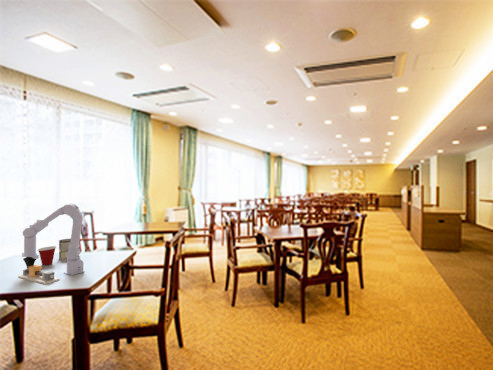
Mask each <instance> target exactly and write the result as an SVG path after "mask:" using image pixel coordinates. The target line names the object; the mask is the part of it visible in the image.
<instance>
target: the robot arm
mask: <svg viewBox="0 0 493 370" xmlns="http://www.w3.org/2000/svg"><path fill="white" fill-rule="evenodd" d="M63 215H66V216H69V217H70V218H71V219H72V226H71V227H72V228H71V235H70V239H71V242H70V246H69V249H68V252H67V253H66V257H67V260H66V271H63V274H66V275H69V276H75V275H78V274H82V273H85V270H84V261H83V260H82V259H81V256H80V255H81V253H82V252H81V251H82V250H81V248H80V247H81V246H80V245H81V244H80V240H81V233H82V225H83V218H84V216H83V214H82V212H81V211H80V208H79V206H78V205H76V204H75V203H69V204H65V205H63V206H61V207H59V208H57V209H56V210H55V211H54V212H52V213H50V215H48V216H47V217H45V218H40V219H37V220H36V222H34V223H33V224H30V225H29V227H27V228H25V229H24V230H23V231H22V236H23V237H24V238H23V239H24V240H23V244H24V245H23V249H24V250H23V252H22V253H21V257H23V258H22V260H23V261H24V263H25V265H26V269H29V266H33V265H35V262H36V260H38V259H39V258H40V254H39V255H38V254H37V235H38V233H40V232H42V231H43V230H44V229H45V228H47V227H48V226H49V223H50V222H52V221H53V220H55V219H57V218H58V217H60V216H63Z"/></svg>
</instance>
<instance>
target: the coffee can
mask: <svg viewBox="0 0 493 370" xmlns="http://www.w3.org/2000/svg"><path fill="white" fill-rule="evenodd" d="M70 242H71V238H65V239H64V238H63V239H62V238H61V239H59V240H58V246H59V247H58V249H59V250H58V254H59V255H58V257H59V258H58V260H59V261H60V260H61V261H67V257H66V253H67V252H68V249H69V246H70Z"/></svg>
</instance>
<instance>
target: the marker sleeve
mask: <svg viewBox="0 0 493 370" xmlns="http://www.w3.org/2000/svg"><path fill="white" fill-rule="evenodd" d="M28 270H29V276H33V277H35V276H39V275H35V272H36V271H40V272H42V264H41V265H39V264H34V265H33V266H29V269H28Z"/></svg>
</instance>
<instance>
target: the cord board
mask: <svg viewBox="0 0 493 370" xmlns="http://www.w3.org/2000/svg"><path fill="white" fill-rule="evenodd" d="M35 275H39V276H35V277H33V276H29V270H28V269H27V268H26V269H23V270H22V274H19V275H17V276H18V277H17V278H19V279H23V280H27V281H30V282H34V283H37V284H41V285H47V284H52V283H55V282H58V281H60V280H61V279H60V277H55V272H54V271H46V272H43V271H41V272H40V271H36V272H35Z"/></svg>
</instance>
